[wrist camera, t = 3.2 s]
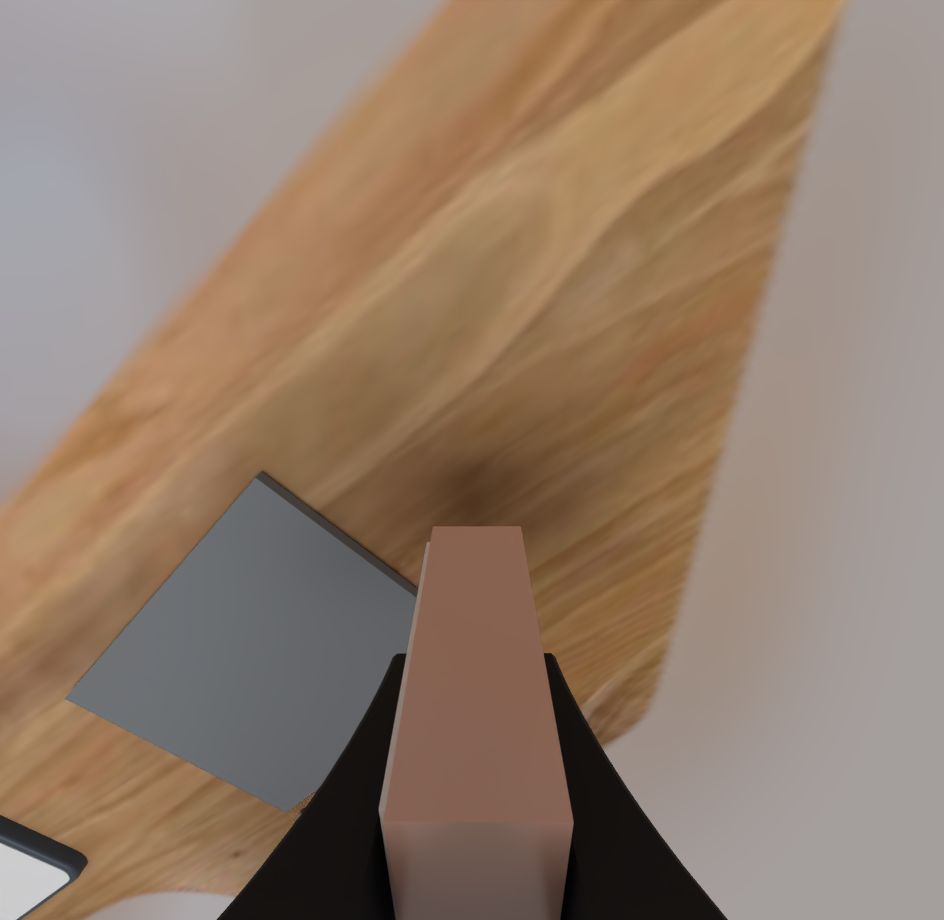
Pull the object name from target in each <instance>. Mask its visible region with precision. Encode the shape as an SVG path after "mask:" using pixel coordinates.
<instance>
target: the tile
mask: <svg viewBox="0 0 944 920" xmlns="http://www.w3.org/2000/svg"><path fill="white" fill-rule="evenodd" d="M379 815H380V821H381V828H382V834H383V841H384V847H385V854H386V860H387V867H388V873H389V880H390V886H391V893H392V899H393V906H394V912H395V919H396V920H560V917H561V910H562V903H563V895H564V888H565V881H566V874H567V867H568V859H569V852H570V845H571V838H572V831H573V823H574V821H573V816H572V810H571V805H570V799H569V793H568V788H567V782H566V777H565V771H564V765H563V760H562V754H561V749H560V743H559V737H558V732H557V726H556V721H555V715H554V709H553V704H552V698H551V693H550V687H549V681H548V676H547V670H546V665H545V659H544V653H543V648H542V642H541V637H540V631H539V625H538V620H537V614H536V609H535V603H534V597H533V592H532V586H531V581H530V575H529V569H528V564H527V558H526V553H525V547H524V541H523V536H522V530H521V526H433V529H432V535H431V541H430V542H427V544H426V549H425V555H424V560H423V566H422V571H421V577H420V583H419V588H418V594H417V599H416V605H415V610H414V616H413V621H412V627H411V633H410V638H409V644H408V649H407V655H406V660H405V666H404V671H403V677H402V683H401V688H400V694H399V699H398V705H397V710H396V716H395V721H394V727H393V732H392V738H391V744H390V749H389V755H388V760H387V766H386V771H385V777H384V782H383V788H382V794H381V799H380V805H379Z"/></svg>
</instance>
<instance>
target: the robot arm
mask: <svg viewBox="0 0 944 920" xmlns="http://www.w3.org/2000/svg"><path fill="white" fill-rule="evenodd" d="M406 655H407V653H397V654H396V655H395V656H393V658H392V660H391V663H390V665H389V667H388V670H387V672H386V674H385V676H384V678H383V680H382V682H381V685H380V687H379V689H378V691H377V692H376V694H375V696H374V698H373V700H372V702H371V704H370V706H369V708H368V709H367V711H366V713H365V715H364V716H363V718H362V720H361V722H360V723H359V725H358V727H357V729H356V731H355V732H354V734H353V736H352V737H351V739H350V741H349V742H348V744H347V746H346V747H345V749H344V750H343V752H342V754H341V755H340V757H339V758H338V760H337V762H336V763H335V765H334V766H333V768H332V769H331V771H330V773H329V774H328V776H327V777H326V779H325V780H324V782H323V783H322V785H321V786H320V788H319V789H318V791H317V792H316V794H315V795H314V797H313V798H312V799H311V801H310V802H309V804H308V805H307V807H306V808H305V809H304V811H303V812H302V813H301V814H299V815H298V818H297V820H296V822H295V823H294V825H293V826H292V827H291V829H290V830H289V831H288V833H287V834H286V835H285V837H284V838H283V839H282V840H281V842H280V843H279V844H278V846H277V847H276V848H275V849H274V851H273V852H272V853H271V855H270V856H269V857H268V859H267V860H266V861H265V862H264V864H263V865H262V866H261V868H260V869H259V870H258V871H257V873H256V874H255V875H254V876H253V877H252V879H251V880H250V881H249V882H248V884H247V885H246V886H245V887H244V888H243V890H242V891H241V892H240V893H239V895H238V896H237V897H236V898H235V899H234V900H233V902H232V903H231V904H230V905H229V906H228V907H227V909H226V910H225V911H224V912H223V913H222V914H221V915H220V917H219V918H218V919H217V920H396V919H395V912H394V906H393V899H392V893H391V886H390V880H389V873H388V867H387V860H386V854H385V847H384V841H383V834H382V828H381V821H380V815H379V805H380V799H381V794H382V788H383V782H384V777H385V771H386V766H387V760H388V755H389V749H390V744H391V738H392V732H393V727H394V721H395V716H396V710H397V705H398V699H399V694H400V688H401V683H402V677H403V671H404V666H405V660H406ZM544 659H545V665H546V670H547V676H548V681H549V687H550V693H551V698H552V704H553V709H554V715H555V721H556V726H557V732H558V737H559V743H560V749H561V754H562V760H563V765H564V771H565V777H566V782H567V788H568V793H569V799H570V805H571V810H572V816H573V821H574V823H573V831H572V838H571V845H570V852H569V859H568V867H567V874H566V881H565V888H564V895H563V903H562V910H561V917H560V920H728V919H727V918H726V917H725V916H724V915H723V913H722V912H721V911H720V910H719V908H718V907H717V906H716V905H715V904H714V902H713V901H712V900H711V899H710V898H709V896H708V895H707V894H706V893H705V891H704V890H703V889H702V888H701V887H700V885H699V884H698V883H697V882H696V880H695V879H694V878H693V877H692V876H691V874H690V873H689V872H688V871H687V869H686V868H685V867H684V866H683V865H682V863H681V862H680V861H679V859H678V858H677V856H676V855H675V854H674V853H673V851H672V850H671V849H670V847H669V846H668V845H667V843H666V842H665V841H664V839H663V838H662V837H661V836H660V834H659V833H658V831H657V830H656V828H655V827H654V826H653V824H652V823H651V822H650V820H649V819H648V817H647V816H646V815H645V813H644V812H643V810H642V809H641V808H640V806H639V805H638V803H637V802H636V800H635V799H634V797H633V796H632V795H631V793H630V791H629V790H628V789H627V787H626V785H625V784H624V782H623V781H622V780H621V778H620V776H619V775H618V773H617V772H616V770H615V768H614V767H613V765H612V764H611V762H610V761H609V759H608V757H607V756H606V754H605V752H604V751H603V749H602V747H601V746H600V744H599V742H598V741H597V739H596V737H595V735H594V734H593V732H592V730H591V728H590V727H589V725H588V723H587V721H586V720H585V718H584V716H583V714H582V712H581V711H580V709H579V707H578V705H577V703H576V701H575V699H574V697H573V695H572V693H571V691H570V689H569V687H568V685H567V683H566V681H565V679H564V677H563V675H562V672H561V670H560V668H559V665H558V663H557V660H556V658H555V656H554V655H552V654H551V653H544Z"/></svg>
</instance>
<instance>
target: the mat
mask: <svg viewBox="0 0 944 920" xmlns="http://www.w3.org/2000/svg"><path fill="white" fill-rule="evenodd" d="M417 594H418V589H417V588H416V587H414V586H413V585H412V584H411V583H409V582H408V581H407V580H405V579H404V578H403V577H401V576H400V575H399V574H397V573H396V572H395V571H393V570H392V569H391V568H389V567H388V566H387V565H385V564H384V563H383V562H381V561H380V560H379V559H377V558H376V557H375V556H373V555H372V554H371V553H369V552H368V551H367V550H365V549H364V548H363V547H361V546H360V545H359V544H357V543H356V542H355V541H353V540H352V539H351V538H350V537H348V536H347V535H346V534H344V533H343V532H342V531H340V530H339V529H338V528H336V527H335V526H334V525H332V524H331V523H330V522H328V521H327V520H326V519H324V518H323V517H322V516H320V515H319V514H318V513H316V512H315V511H314V510H312V509H311V508H310V507H308V506H307V505H306V504H304V503H303V502H302V501H300V500H299V499H298V498H296V497H295V496H294V495H292V494H291V493H290V492H289V491H287V490H286V489H285V488H283V487H282V486H281V485H279V484H278V483H277V482H275V481H274V480H273V479H271V478H270V477H269V476H267V475H266V474H265V473H263V472H261V473H260V474H259V475H258V476H257V477H256V478H255V479H254V480H253V481H252V482H251V483H250V485H249V486H248V487H247V488H246V489H245V490H244V492H243V493H242V494H241V495H240V496H239V497H238V498H237V500H236V501H235V502H234V503H233V504H232V505H231V507H230V508H229V509H228V510H227V511H226V512H225V514H224V515H223V516H222V517H221V518H220V519H219V520H218V522H217V523H216V524H215V525H214V526H213V527H212V529H211V530H210V531H209V532H208V533H207V534H206V536H205V537H204V538H203V539H202V540H201V541H200V542H199V544H198V545H197V546H196V547H195V548H194V549H193V551H192V552H191V553H190V554H189V555H188V556H187V558H186V559H185V560H184V561H183V562H182V563H181V564H180V566H179V567H178V568H177V569H176V570H175V571H174V573H173V574H172V575H171V576H170V577H169V578H168V579H167V581H166V582H165V583H164V584H163V585H162V586H161V588H160V589H159V590H158V591H157V592H156V593H155V595H154V596H153V597H152V598H151V599H150V600H149V601H148V603H147V604H146V605H145V606H144V607H143V608H142V610H141V611H140V612H139V613H138V614H137V615H136V617H135V618H134V619H133V620H132V621H131V622H130V623H129V625H128V626H127V627H126V628H125V629H124V630H123V632H122V633H121V634H120V635H119V636H118V637H117V638H116V640H115V641H114V642H113V643H112V644H111V645H110V647H109V648H108V649H107V650H106V651H105V652H104V654H103V655H102V656H101V657H100V658H99V659H98V660H97V662H96V663H95V664H94V665H93V666H92V667H91V669H90V670H89V671H88V672H87V673H86V674H85V676H84V677H83V678H82V679H81V680H80V681H79V682H78V684H77V685H76V686H75V687H74V688H73V689H72V691H71V692H70V693H69V694H68V695H67V696H66V698H65V699H66V700H68V701H70V702H72V703H74V704H76V705H78V706H80V707H82V708H84V709H86V710H88V711H90V712H92V713H94V714H96V715H97V716H99V717H101V718H103V719H105V720H107V721H109V722H111V723H113V724H115V725H117V726H119V727H121V728H123V729H125V730H127V731H129V732H131V733H132V734H134V735H136V736H138V737H140V738H142V739H144V740H146V741H148V742H150V743H152V744H154V745H156V746H158V747H160V748H162V749H164V750H165V751H167V752H169V753H171V754H173V755H175V756H177V757H179V758H181V759H183V760H185V761H187V762H189V763H191V764H193V765H195V766H197V767H199V768H200V769H202V770H204V771H206V772H208V773H210V774H212V775H214V776H216V777H218V778H220V779H222V780H224V781H226V782H228V783H230V784H232V785H234V786H235V787H237V788H239V789H241V790H243V791H245V792H247V793H249V794H251V795H253V796H255V797H257V798H259V799H261V800H263V801H265V802H267V803H268V804H270V805H272V806H274V807H276V808H278V809H280V810H282V811H284V812H287V811H289V810H290V809H291V808H293V807H294V806H295V805H297V804H298V803H299V802H301V801H302V800H304V799H305V798H306V797H308V796H309V795H310V794H312V793H313V792H314V791H316V790H317V789H318V788H320V786H321V785H322V783H323V782H324V780H325V779H326V777H327V776H328V774H329V773H330V771H331V769H332V768H333V766H334V765H335V763H336V762H337V760H338V758H339V757H340V755H341V754H342V752H343V750H344V749H345V747H346V746H347V744H348V742H349V741H350V739H351V737H352V736H353V734H354V732H355V731H356V729H357V727H358V725H359V723H360V722H361V720H362V718H363V716H364V715H365V713H366V711H367V709H368V708H369V706H370V704H371V702H372V700H373V698H374V696H375V694H376V692H377V691H378V689H379V687H380V685H381V682H382V680H383V678H384V676H385V674H386V672H387V670H388V667H389V665H390V663H391V660H392V658H393V656H395V655H396V654H397V653H407V649H408V644H409V638H410V633H411V627H412V621H413V616H414V610H415V605H416V599H417Z"/></svg>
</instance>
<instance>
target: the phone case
mask: <svg viewBox="0 0 944 920" xmlns="http://www.w3.org/2000/svg"><path fill="white" fill-rule="evenodd" d="M87 862H88V861H87V858H86V857H85V856H84V855H83V854H82V853H80V852H78V851H76V850H74V849H72V848H70V847H68V846H66V845H64V844H61V843H59V842H57V841H55V840H53V839H51V838H48V837H46V836H44V835H42V834H40V833H38V832H36V831H33V830H31V829H29V828H27V827H25V826H23V825H21V824H18V823H16V822H14V821H12V820H10V819H8V818H5V817H3V816H1V815H0V920H21V919H22V918H24V917H25V916H27V915H28V914H29V913H31V912H32V911H33V910H35V909H36V908H38V907H39V906H40V905H42V904H43V903H44V902H46V901H47V900H49V899H50V898H51V897H53V896H54V895H55V894H57V893H58V892H60V891H61V890H62V889H64V888H65V887H66V886H68V885H69V884H71V883H72V882H73V881H75V880H76V879H77V878H78V877H79V875H80V874H81V872H82V871H83V869H84V868H85V866H86V865H87Z"/></svg>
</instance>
